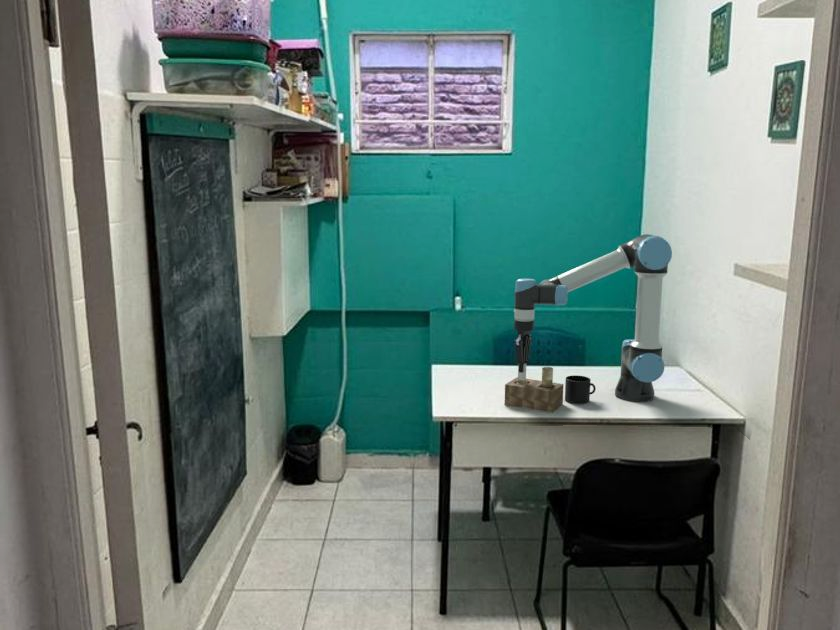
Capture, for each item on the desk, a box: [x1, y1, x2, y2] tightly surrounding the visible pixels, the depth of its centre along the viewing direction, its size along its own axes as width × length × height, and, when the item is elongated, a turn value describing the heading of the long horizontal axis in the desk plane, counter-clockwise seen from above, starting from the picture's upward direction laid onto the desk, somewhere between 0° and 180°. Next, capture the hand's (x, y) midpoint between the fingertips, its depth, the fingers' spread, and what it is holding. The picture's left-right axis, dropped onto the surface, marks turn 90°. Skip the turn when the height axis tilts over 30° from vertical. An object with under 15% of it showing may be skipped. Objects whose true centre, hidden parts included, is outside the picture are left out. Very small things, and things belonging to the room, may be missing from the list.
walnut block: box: [504, 376, 564, 413], centre depth 265 cm, size 19×12×8 cm, turn 61°
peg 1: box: [517, 380, 527, 385], centre depth 268 cm, size 4×4×8 cm
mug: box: [564, 374, 596, 405], centre depth 271 cm, size 9×12×9 cm
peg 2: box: [541, 366, 554, 389], centre depth 262 cm, size 4×4×8 cm
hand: (521, 379), depth 267 cm, fingers closed
